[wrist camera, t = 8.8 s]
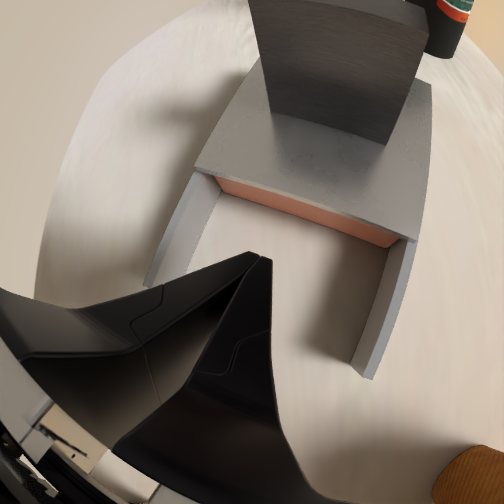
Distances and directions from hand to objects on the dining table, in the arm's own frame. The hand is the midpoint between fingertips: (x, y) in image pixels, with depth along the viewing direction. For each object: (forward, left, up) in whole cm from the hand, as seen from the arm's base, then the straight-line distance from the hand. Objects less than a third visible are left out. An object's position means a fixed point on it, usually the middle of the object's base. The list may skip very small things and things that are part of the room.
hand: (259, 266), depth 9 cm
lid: (+10, -5, -4) cm, 11 cm away
